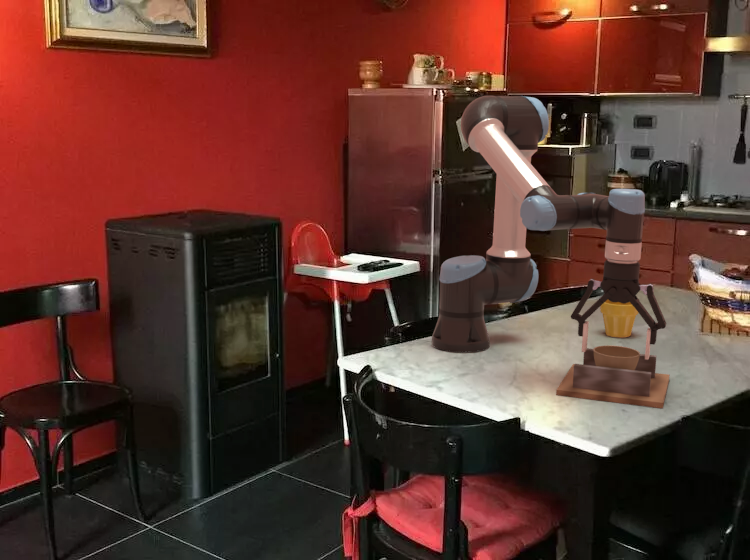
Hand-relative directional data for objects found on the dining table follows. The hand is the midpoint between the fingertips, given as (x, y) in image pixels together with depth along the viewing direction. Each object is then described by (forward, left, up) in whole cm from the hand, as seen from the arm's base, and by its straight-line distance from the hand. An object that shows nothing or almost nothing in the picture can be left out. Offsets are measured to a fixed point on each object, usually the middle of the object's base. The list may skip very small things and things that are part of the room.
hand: (615, 354), depth 191 cm
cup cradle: (0, 0, -8) cm, 8 cm away
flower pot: (0, 0, -7) cm, 7 cm away
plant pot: (-5, +50, -8) cm, 51 cm away
